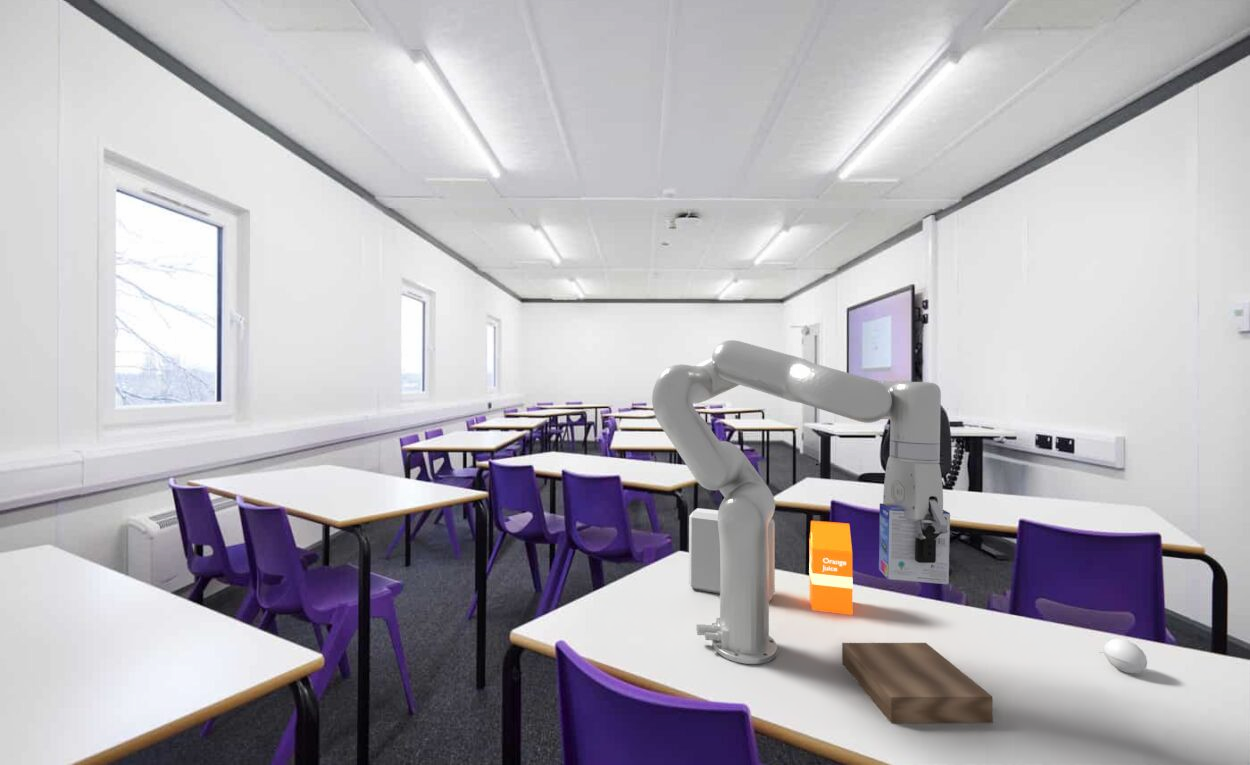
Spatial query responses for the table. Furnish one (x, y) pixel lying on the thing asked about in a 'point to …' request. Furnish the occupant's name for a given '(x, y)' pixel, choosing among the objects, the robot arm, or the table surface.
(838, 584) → the orange juice
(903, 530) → the ink cartridge box
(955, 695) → the walnut plinth
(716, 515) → the bevelled white case
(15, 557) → the table surface
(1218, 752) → the table surface
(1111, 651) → the white egg-shaped piece
